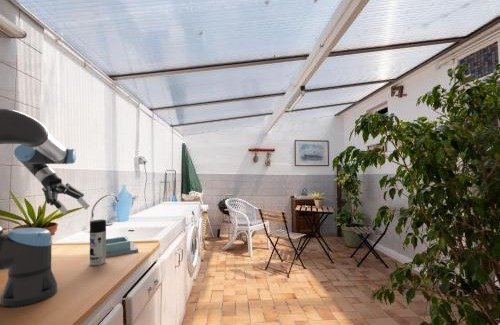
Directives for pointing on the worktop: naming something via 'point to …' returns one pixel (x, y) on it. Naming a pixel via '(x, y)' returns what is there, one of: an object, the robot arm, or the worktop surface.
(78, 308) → the worktop surface
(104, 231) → the spray can
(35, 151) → the robot arm
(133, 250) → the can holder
